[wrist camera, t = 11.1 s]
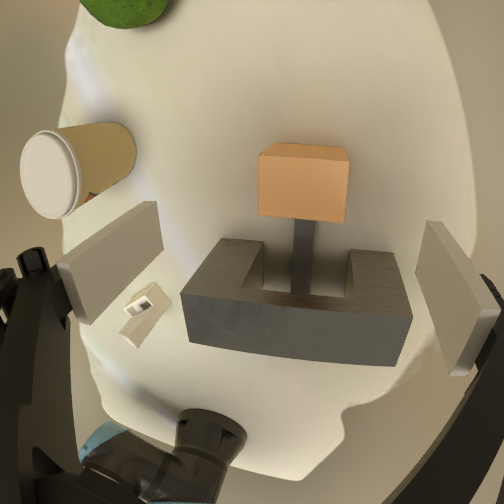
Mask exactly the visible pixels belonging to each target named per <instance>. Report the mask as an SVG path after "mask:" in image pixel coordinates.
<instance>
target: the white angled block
mask: <svg viewBox="0 0 504 504" xmlns="http://www.w3.org/2000/svg"><path fill="white" fill-rule="evenodd" d="M147 301H148V302H149V303H150V305H149V304H148V303H147ZM170 304H171V301H170V300H169V299H168V298H167V296H166V295H165V294H164V293H163V292H162V290H161V289H160V288H159V287H158V286H157V284H156V283H155V284H153V285H151V286H150V287H148V288H147V289H145V290H144V291H142V292H140V293H139V294H137V295H136V296H134V297H133V298H132V299H131V300H130V301H129V302H128V304H127V305H126V306H125V307H124V308H123V309H124V310H125V311H126V312H127V314H128V315H129V316H130V317H131V319H130V320H129V321H128V322H127V323H126V325H125V326H124V327H123V328H122V329H121V331H120V332H119V334H120V335H121V336H122V337H123V338H124V339H125V340H126V341H127V342H128V343H130V344H131V345H133V346H135V347H136V348H139V346H140V345H141V344H142V342H143V341H144V339H145V338H146V337H147V335H148V334H149V332H150V331H151V330H152V328H153V327H154V326H155V324H156V323H157V321H158V320H159V319H160V317H161V316H162V315H163V313H164V312H165V310H166V309H167V308H168V306H169V305H170Z"/></svg>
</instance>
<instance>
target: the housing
mask: <svg viewBox="0 0 504 504" xmlns="http://www.w3.org/2000/svg"><path fill="white" fill-rule="evenodd" d="M262 287H263V242H261V241H249V240H236V239H223V238H221V239H220V240H219V242H218V243H217V244H216V246H215V247H214V248H213V250H212V251H211V252H210V253H209V255H208V256H207V257H206V259H205V260H204V261H203V263H202V264H201V265H200V267H199V268H198V269H197V271H196V272H195V273H194V275H193V276H192V277H191V279H190V280H189V281H188V283H187V284H186V285H185V287H184V288H183V289H182V291H181V292H180V295H181V301H182V306H183V312H184V317H185V322H186V327H187V332H188V337H189V342H192V343H197V344H202V345H207V346H213V347H218V348H224V349H230V350H236V351H242V352H248V353H255V354H262V355H269V356H276V357H284V358H292V359H301V360H310V361H319V362H330V363H341V364H355V365H370V366H390V367H395V365H396V363H397V360H398V358H399V355H400V353H401V350H402V348H403V345H404V342H405V339H406V337H407V334H408V331H409V328H410V325H411V322H412V319H413V315H412V311H411V307H410V304H409V301H408V297H407V294H406V291H405V287H404V284H403V281H402V278H401V275H400V272H399V269H398V266H397V263H396V260H395V257H394V254H393V253H387V252H376V251H366V250H354V249H351V251H350V258H349V265H348V272H347V279H346V286H345V292H344V298H339V297H328V296H317V295H307V294H297V293H287V292H278V291H269V290H262Z"/></svg>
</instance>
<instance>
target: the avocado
mask: <svg viewBox="0 0 504 504" xmlns="http://www.w3.org/2000/svg"><path fill="white" fill-rule="evenodd" d="M80 2H81V4H82V5H83V6H84V7H85V8H86V9H87V10H88V12H89V13H90V14H91V15H92V16H93V17H95V18H96V19H97V20H98V21H99V22H101V23H102V24H104V25H105V26H109V27H113V28H118V29H130V28H136V27H140V26H144V25H146V24H149V23H151V22H152V21H154V20H155V19H156V18H158V17H159V16H160V15H161V13H162V12H163V11H164V9H165V7H166V5H167V4H168V2H169V0H80Z"/></svg>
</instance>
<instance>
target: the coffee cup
mask: <svg viewBox="0 0 504 504" xmlns="http://www.w3.org/2000/svg"><path fill="white" fill-rule="evenodd" d="M135 160H136V146H135V142H134V139H133V137H132V135H131V133H130V132H129V131H128V130H127V129H126V128H125V127H124V126H123V125H121V124H118V123H114V122H107V123H96V124H87V125H79V126H72V127H66V128H60V129H54V130H43V131H40V132H38V133H36V134H35V135H34V136H33V137H32V138H31V139H30V140H29V141H28V142H27V144H26V145H25V147H24V149H23V152H22V156H21V161H20V175H21V182H22V186H23V189H24V192H25V195H26V197H27V199H28V201H29V202H30V204H31V205H32V207H33V208H34V209H35V210H36V211H37V212H38V213H39V214H40V215H42V216H44V217H46V218H49V219H62V218H65V217H67V216H68V215H70V214H71V213H72V212H73V211H74V210H75V209H77V208H78V207H80V206H81V205H83V204H85V203H86V202H88V201H89V200H91V199H92V198H94V197H95V196H97V195H98V194H100V193H101V192H103V191H105V190H106V189H108V188H109V187H111V186H112V185H114V184H116V183H117V182H119V181H120V180H122V179H123V178H125V177H126V176H127V175H128V174H129V173H130V172H131V170H132V169H133V167H134V164H135Z"/></svg>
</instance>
